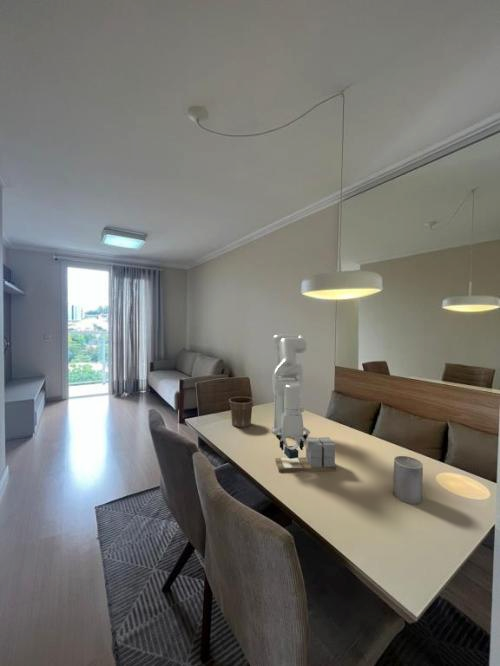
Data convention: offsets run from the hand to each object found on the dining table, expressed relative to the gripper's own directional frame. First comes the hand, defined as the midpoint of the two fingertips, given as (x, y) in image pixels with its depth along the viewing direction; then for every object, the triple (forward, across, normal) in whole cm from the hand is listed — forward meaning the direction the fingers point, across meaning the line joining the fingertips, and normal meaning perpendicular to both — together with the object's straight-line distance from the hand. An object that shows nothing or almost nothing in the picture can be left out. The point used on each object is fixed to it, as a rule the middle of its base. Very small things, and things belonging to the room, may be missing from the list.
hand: (291, 448), depth 130 cm
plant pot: (+8, +20, -55) cm, 59 cm away
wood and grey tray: (+8, -6, 0) cm, 10 cm away
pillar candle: (+8, -40, +25) cm, 47 cm away
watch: (+3, 0, 0) cm, 3 cm away
